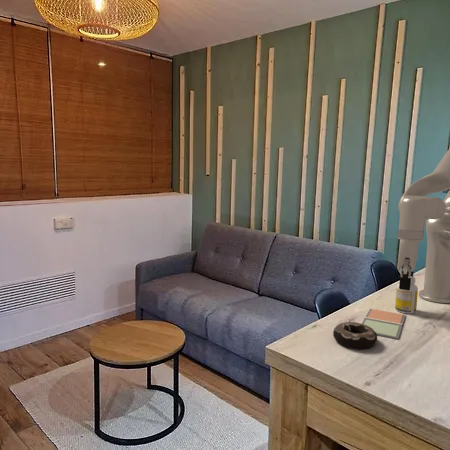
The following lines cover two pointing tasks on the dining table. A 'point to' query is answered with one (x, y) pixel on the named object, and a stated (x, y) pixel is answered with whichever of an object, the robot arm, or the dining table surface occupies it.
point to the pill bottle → (407, 298)
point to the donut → (355, 335)
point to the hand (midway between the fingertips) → (405, 285)
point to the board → (384, 323)
